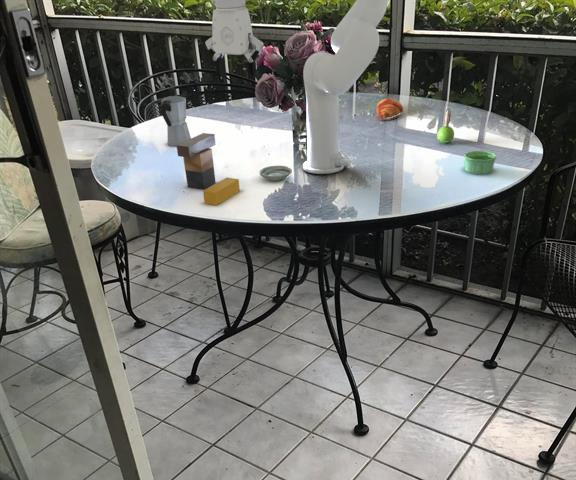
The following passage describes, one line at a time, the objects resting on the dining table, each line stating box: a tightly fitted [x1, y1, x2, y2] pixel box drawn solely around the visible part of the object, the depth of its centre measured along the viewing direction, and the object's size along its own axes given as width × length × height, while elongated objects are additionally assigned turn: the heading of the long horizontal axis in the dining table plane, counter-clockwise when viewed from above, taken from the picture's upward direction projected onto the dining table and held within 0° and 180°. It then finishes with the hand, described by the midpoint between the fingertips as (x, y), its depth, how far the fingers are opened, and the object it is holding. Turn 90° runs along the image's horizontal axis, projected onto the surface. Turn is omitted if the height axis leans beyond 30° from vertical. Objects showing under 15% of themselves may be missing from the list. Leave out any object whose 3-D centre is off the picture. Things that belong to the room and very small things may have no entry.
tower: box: [182, 147, 217, 191], centre depth 177 cm, size 6×6×10 cm
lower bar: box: [175, 132, 216, 158], centre depth 173 cm, size 13×4×3 cm, turn 152°
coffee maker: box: [160, 87, 192, 148], centre depth 211 cm, size 15×9×18 cm, turn 161°
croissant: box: [375, 97, 404, 121], centre depth 233 cm, size 21×10×8 cm, turn 159°
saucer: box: [258, 165, 293, 182], centre depth 181 cm, size 10×10×2 cm
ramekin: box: [464, 150, 497, 175], centre depth 179 cm, size 9×9×4 cm
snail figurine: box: [436, 106, 455, 145], centre depth 199 cm, size 5×6×12 cm
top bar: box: [202, 177, 241, 206], centre depth 170 cm, size 12×4×4 cm, turn 152°
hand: (236, 77), depth 164 cm, fingers open, 9 cm apart
